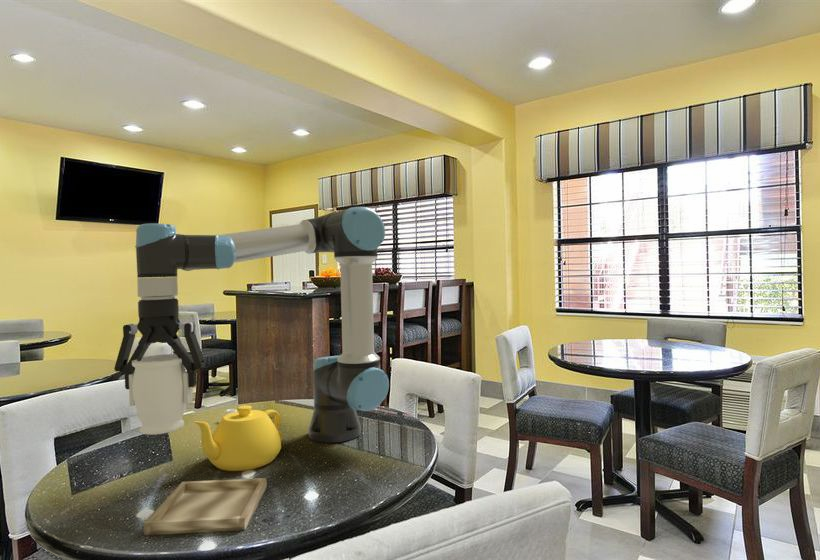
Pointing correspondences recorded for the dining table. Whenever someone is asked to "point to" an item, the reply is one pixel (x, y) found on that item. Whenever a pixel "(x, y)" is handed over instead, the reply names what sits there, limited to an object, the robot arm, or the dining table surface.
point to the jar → (159, 393)
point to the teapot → (242, 439)
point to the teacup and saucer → (229, 411)
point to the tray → (207, 507)
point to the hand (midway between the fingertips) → (161, 403)
